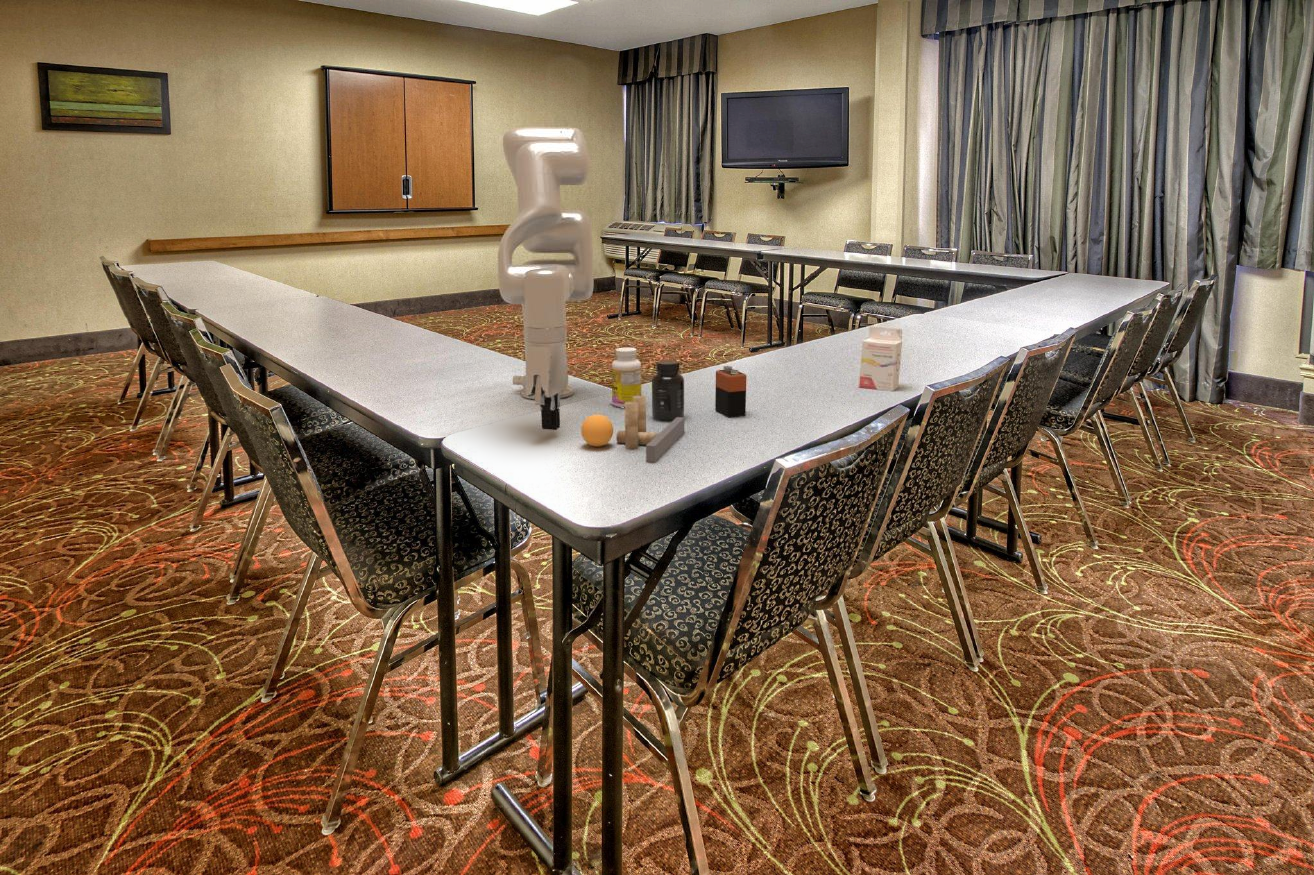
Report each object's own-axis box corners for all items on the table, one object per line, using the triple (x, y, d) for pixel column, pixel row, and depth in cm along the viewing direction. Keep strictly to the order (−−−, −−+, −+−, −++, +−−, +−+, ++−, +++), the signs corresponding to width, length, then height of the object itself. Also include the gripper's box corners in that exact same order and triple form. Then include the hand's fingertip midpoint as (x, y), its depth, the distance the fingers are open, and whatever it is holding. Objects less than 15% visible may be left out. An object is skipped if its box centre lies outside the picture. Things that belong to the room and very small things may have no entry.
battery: (732, 409, 174) (733, 364, 171) (746, 416, 167) (747, 370, 165) (714, 410, 172) (714, 366, 169) (728, 418, 166) (729, 372, 163)
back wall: (646, 461, 138) (646, 445, 137) (676, 431, 156) (676, 417, 155) (654, 462, 137) (654, 446, 137) (684, 432, 156) (684, 417, 155)
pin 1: (623, 448, 145) (622, 404, 143) (627, 445, 148) (627, 401, 145) (635, 449, 145) (635, 405, 142) (640, 446, 147) (639, 402, 145)
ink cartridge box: (858, 387, 193) (862, 328, 189) (864, 384, 197) (868, 325, 193) (892, 391, 188) (897, 330, 184) (898, 388, 192) (903, 328, 188)
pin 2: (632, 441, 150) (631, 398, 148) (636, 437, 152) (635, 395, 150) (644, 442, 149) (643, 398, 147) (648, 438, 152) (647, 396, 149)
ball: (608, 453, 145) (585, 452, 148) (624, 431, 148) (602, 430, 152) (592, 430, 141) (569, 430, 145) (609, 407, 144) (586, 407, 148)
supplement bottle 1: (612, 402, 180) (610, 346, 177) (640, 401, 181) (640, 346, 177) (612, 409, 174) (611, 352, 170) (642, 408, 174) (641, 351, 171)
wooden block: (616, 431, 148) (659, 435, 145) (620, 429, 150) (663, 432, 148) (616, 444, 148) (659, 447, 146) (620, 441, 151) (663, 444, 148)
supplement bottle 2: (645, 418, 166) (645, 363, 162) (663, 412, 171) (663, 357, 168) (672, 423, 162) (672, 366, 159) (690, 416, 168) (690, 361, 164)
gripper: (545, 328, 156) (549, 417, 161) (510, 341, 142) (516, 437, 147) (580, 330, 154) (583, 420, 159) (548, 342, 140) (552, 440, 145)
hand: (551, 428), depth 153 cm, fingers closed
